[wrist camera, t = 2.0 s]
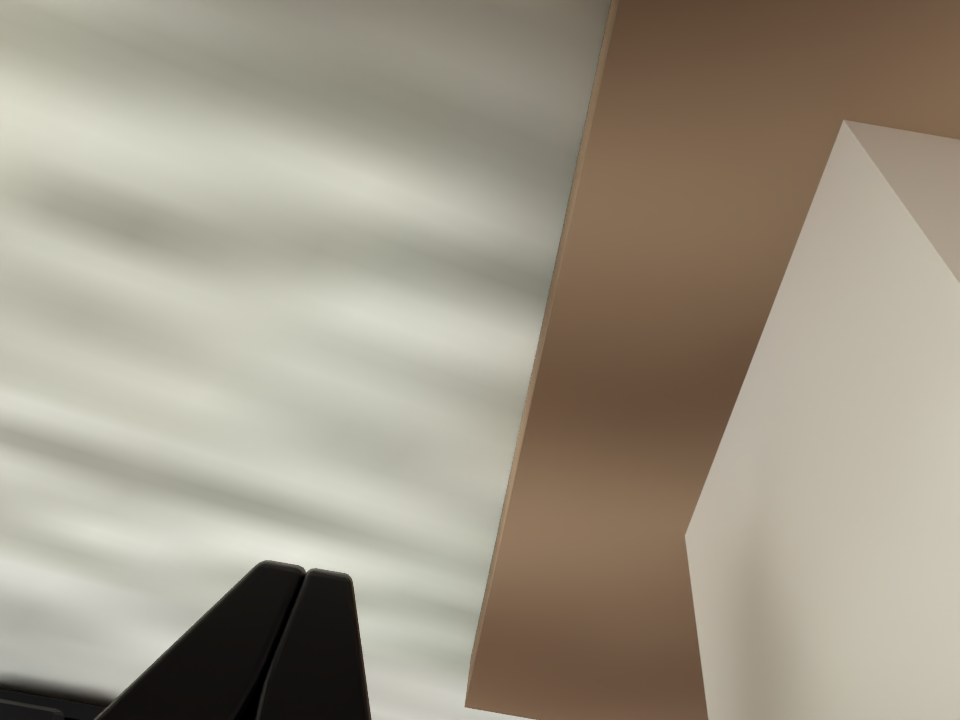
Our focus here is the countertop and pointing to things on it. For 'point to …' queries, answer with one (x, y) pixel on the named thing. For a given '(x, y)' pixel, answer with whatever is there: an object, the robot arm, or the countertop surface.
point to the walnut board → (672, 323)
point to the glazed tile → (845, 459)
